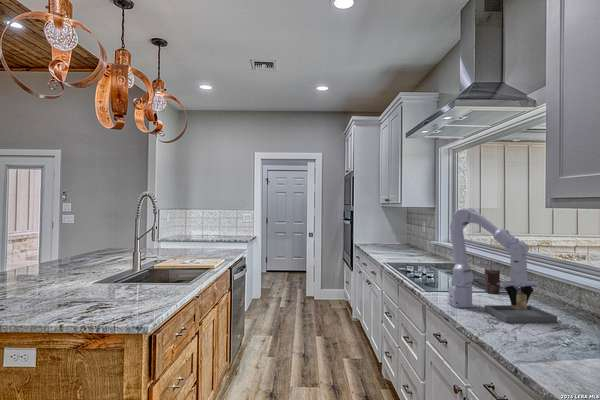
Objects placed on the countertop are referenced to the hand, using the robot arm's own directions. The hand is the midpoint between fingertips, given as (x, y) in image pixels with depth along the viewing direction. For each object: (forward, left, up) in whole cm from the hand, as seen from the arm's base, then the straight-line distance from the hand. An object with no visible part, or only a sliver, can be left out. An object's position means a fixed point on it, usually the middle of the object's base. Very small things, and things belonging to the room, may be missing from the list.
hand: (519, 304), depth 150 cm
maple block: (0, 0, -2) cm, 2 cm away
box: (+11, +41, -5) cm, 43 cm away
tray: (0, 0, -5) cm, 5 cm away
